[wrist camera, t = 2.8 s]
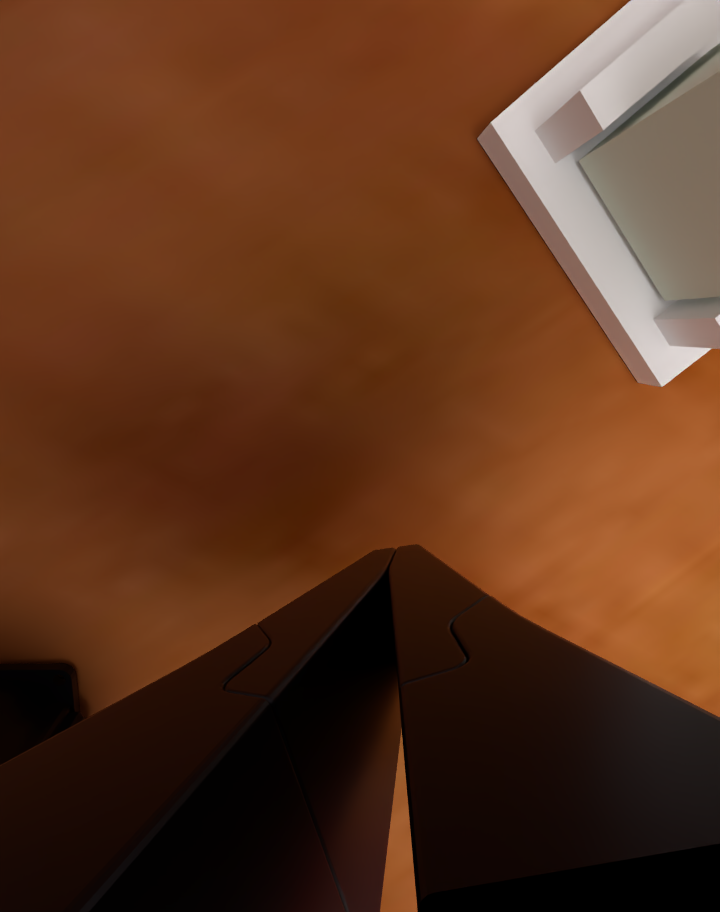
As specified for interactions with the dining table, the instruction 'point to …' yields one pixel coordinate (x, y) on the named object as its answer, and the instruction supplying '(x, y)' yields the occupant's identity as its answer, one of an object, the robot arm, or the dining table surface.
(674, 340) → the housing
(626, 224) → the grey upright block
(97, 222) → the dining table surface
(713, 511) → the dining table surface
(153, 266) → the dining table surface
